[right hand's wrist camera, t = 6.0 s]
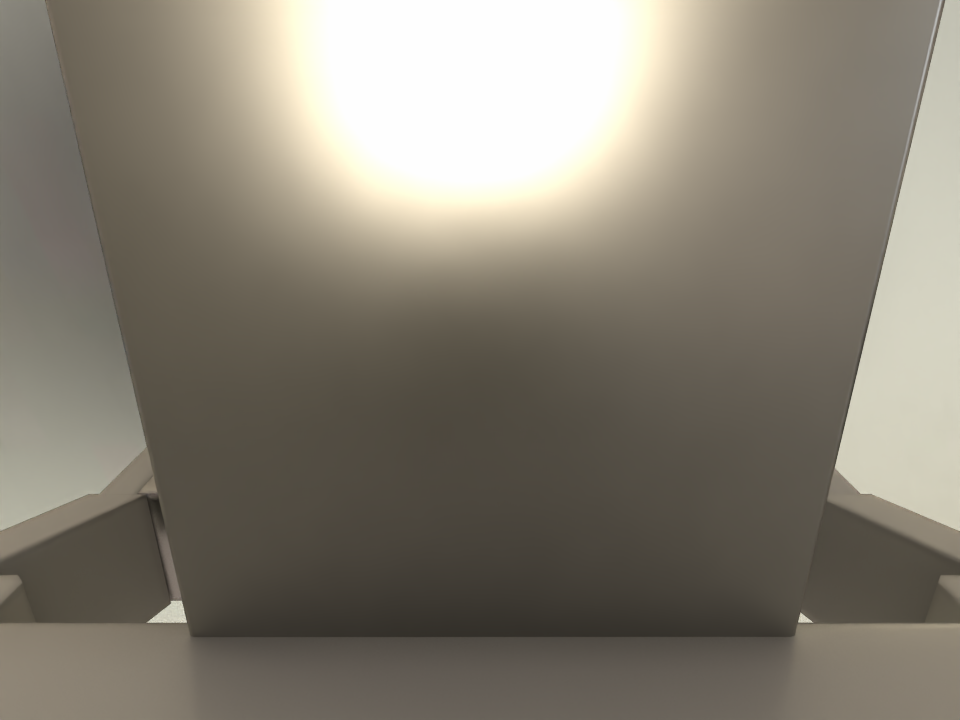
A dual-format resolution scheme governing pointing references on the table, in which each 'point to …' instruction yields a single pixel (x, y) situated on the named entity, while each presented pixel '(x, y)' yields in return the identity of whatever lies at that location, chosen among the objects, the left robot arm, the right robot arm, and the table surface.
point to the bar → (493, 297)
